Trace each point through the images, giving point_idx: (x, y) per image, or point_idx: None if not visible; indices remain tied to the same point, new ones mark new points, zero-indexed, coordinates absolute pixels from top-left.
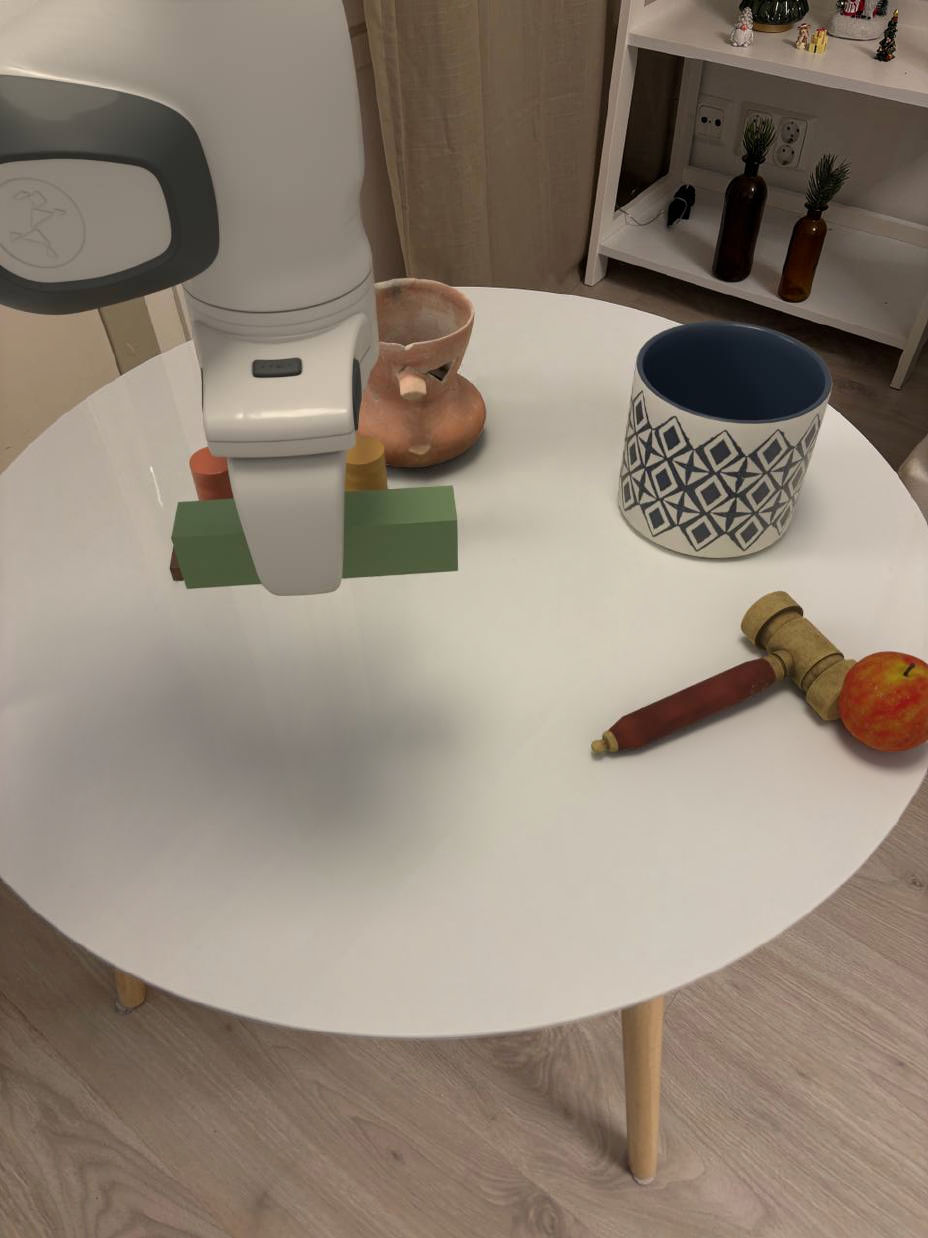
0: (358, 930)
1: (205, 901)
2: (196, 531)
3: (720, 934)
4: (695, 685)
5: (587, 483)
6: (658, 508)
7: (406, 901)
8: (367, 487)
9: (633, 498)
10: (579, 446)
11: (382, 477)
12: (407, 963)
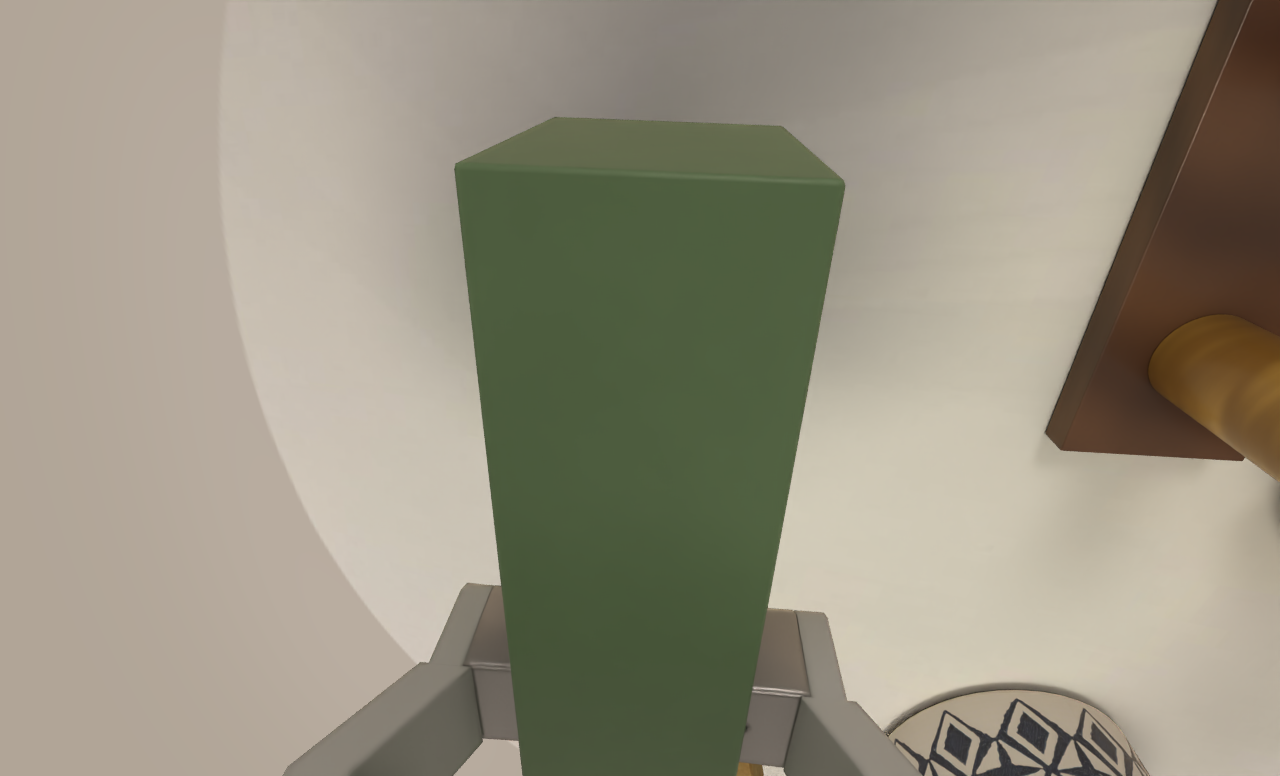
0: (347, 266)
1: (369, 25)
2: (506, 322)
3: (382, 602)
4: None
5: (1118, 666)
6: (963, 762)
7: (393, 329)
8: (1251, 434)
9: (1012, 736)
10: (1220, 678)
11: (1265, 471)
12: (312, 322)
